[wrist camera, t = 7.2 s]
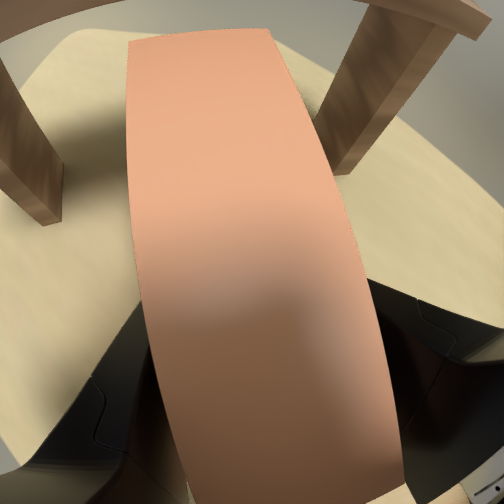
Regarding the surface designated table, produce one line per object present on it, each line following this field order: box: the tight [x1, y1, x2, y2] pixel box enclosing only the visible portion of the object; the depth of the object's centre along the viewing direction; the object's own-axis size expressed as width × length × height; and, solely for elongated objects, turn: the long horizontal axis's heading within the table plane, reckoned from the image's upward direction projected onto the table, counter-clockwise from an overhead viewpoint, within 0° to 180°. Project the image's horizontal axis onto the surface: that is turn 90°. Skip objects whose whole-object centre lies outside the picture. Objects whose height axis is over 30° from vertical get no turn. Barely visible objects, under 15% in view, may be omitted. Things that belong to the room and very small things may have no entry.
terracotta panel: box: [126, 29, 405, 504], centre depth 10 cm, size 12×4×10 cm, turn 13°
